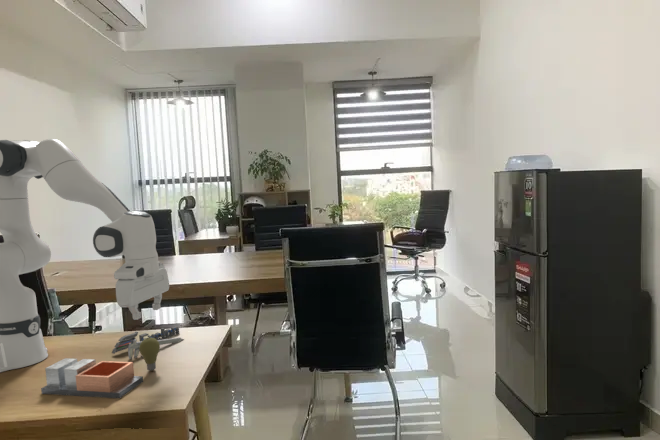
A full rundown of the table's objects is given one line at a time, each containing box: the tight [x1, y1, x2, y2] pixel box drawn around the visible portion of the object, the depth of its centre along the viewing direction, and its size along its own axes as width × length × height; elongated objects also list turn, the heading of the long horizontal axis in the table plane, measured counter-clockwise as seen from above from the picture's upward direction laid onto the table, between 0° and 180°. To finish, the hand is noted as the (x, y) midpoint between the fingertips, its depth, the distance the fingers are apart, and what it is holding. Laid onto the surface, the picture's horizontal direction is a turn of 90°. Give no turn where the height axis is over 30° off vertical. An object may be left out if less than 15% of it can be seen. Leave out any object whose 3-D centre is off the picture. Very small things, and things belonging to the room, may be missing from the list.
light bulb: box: [139, 337, 161, 372], centre depth 136 cm, size 6×6×10 cm
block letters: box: [111, 326, 180, 354], centre depth 161 cm, size 25×2×6 cm, turn 145°
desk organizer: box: [40, 357, 144, 399], centre depth 127 cm, size 24×10×6 cm, turn 77°
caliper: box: [127, 337, 185, 360], centre depth 155 cm, size 20×1×6 cm, turn 145°
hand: (147, 314), depth 135 cm, fingers open, 8 cm apart
